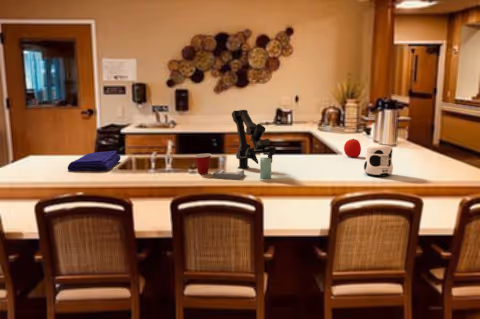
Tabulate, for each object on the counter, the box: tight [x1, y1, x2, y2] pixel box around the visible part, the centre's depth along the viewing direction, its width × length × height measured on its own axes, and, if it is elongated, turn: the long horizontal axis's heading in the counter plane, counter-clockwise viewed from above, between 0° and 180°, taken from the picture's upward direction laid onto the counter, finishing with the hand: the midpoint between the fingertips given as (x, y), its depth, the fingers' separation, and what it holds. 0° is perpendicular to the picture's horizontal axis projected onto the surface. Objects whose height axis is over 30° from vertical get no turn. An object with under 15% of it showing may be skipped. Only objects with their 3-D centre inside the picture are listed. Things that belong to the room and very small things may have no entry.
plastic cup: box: [193, 153, 212, 175], centre depth 300 cm, size 11×11×12 cm
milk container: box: [363, 144, 394, 177], centre depth 298 cm, size 17×17×18 cm
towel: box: [67, 150, 122, 172], centre depth 321 cm, size 26×36×9 cm
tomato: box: [343, 138, 362, 158], centre depth 361 cm, size 13×11×14 cm
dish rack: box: [212, 168, 245, 180], centre depth 293 cm, size 14×16×3 cm
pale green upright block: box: [259, 157, 272, 180], centre depth 288 cm, size 6×6×12 cm
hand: (264, 162), depth 288 cm, fingers open, 9 cm apart
